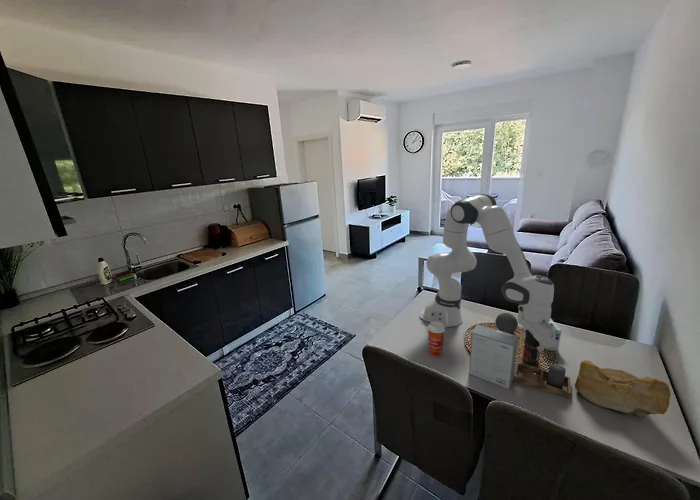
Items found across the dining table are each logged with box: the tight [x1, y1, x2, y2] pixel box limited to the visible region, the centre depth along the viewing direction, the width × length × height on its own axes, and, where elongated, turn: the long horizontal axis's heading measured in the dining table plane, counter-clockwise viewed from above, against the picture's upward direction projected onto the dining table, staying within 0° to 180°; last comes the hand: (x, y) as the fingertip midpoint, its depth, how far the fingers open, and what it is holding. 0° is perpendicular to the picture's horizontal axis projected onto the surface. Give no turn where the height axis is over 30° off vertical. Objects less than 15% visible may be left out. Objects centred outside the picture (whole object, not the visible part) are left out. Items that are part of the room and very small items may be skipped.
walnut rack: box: [513, 361, 572, 399], centre depth 114 cm, size 18×9×3 cm, turn 56°
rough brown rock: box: [574, 359, 672, 418], centre depth 103 cm, size 23×17×15 cm
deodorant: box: [521, 330, 541, 367], centre depth 124 cm, size 6×6×15 cm
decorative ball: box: [494, 312, 519, 334], centre depth 147 cm, size 10×10×10 cm
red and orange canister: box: [426, 322, 446, 357], centre depth 134 cm, size 8×8×14 cm
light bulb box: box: [544, 318, 562, 352], centre depth 136 cm, size 11×7×11 cm, turn 168°
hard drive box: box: [468, 324, 519, 390], centre depth 117 cm, size 16×8×20 cm, turn 50°
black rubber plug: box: [547, 363, 566, 389], centre depth 111 cm, size 5×5×8 cm
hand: (533, 343), depth 123 cm, fingers open, 8 cm apart
